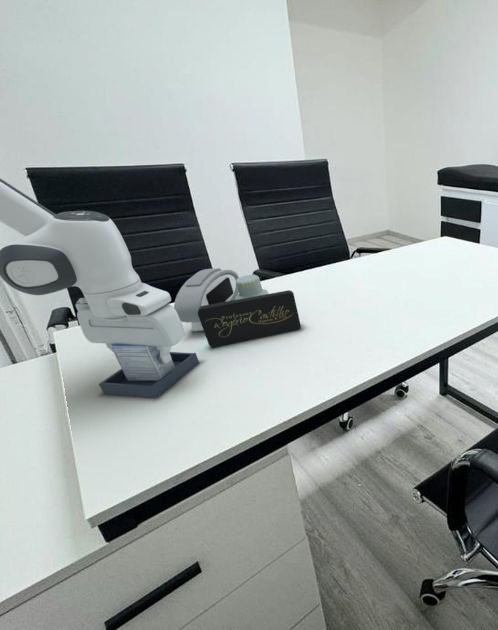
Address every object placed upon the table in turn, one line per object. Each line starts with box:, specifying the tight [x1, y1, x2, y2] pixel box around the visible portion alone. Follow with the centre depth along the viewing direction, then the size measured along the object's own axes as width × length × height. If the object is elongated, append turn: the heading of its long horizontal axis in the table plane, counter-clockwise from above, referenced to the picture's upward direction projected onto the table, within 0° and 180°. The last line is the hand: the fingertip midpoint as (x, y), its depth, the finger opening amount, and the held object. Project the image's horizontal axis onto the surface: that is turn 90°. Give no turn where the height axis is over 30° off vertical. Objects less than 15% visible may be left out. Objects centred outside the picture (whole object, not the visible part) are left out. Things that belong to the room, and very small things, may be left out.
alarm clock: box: [173, 267, 240, 332], centre depth 103 cm, size 23×6×13 cm, turn 0°
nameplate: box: [198, 289, 302, 348], centre depth 92 cm, size 21×2×10 cm, turn 110°
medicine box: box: [111, 344, 175, 381], centre depth 78 cm, size 8×4×9 cm, turn 84°
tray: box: [98, 351, 200, 399], centre depth 80 cm, size 12×12×2 cm
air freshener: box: [235, 274, 270, 300], centre depth 104 cm, size 11×8×10 cm
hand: (145, 360), depth 79 cm, fingers open, 8 cm apart
